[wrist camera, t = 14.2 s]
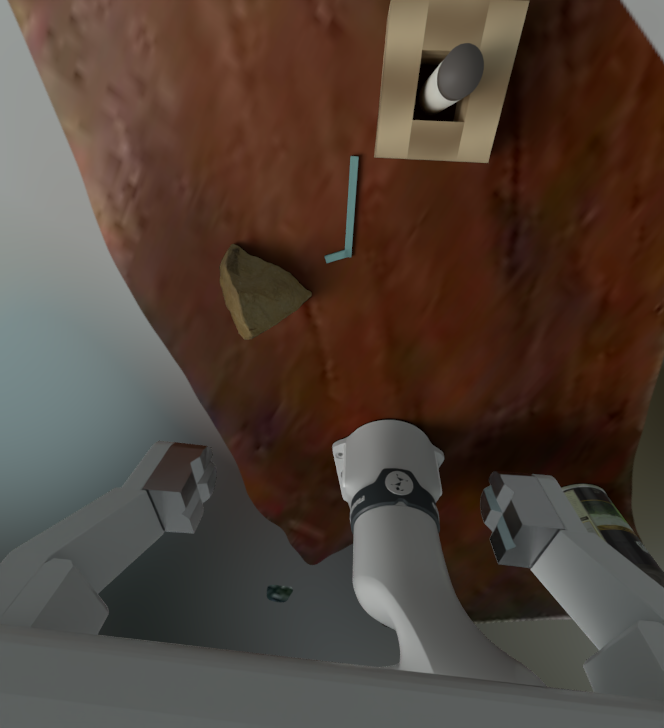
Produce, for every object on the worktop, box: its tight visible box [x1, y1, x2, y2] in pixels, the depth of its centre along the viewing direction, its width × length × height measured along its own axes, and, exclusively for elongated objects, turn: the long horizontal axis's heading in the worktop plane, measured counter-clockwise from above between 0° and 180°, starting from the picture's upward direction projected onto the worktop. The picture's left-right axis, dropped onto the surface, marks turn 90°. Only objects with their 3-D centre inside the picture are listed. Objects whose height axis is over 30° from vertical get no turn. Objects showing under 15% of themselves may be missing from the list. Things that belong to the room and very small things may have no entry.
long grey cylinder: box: [419, 43, 484, 115], centre depth 26 cm, size 3×3×10 cm
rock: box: [219, 244, 312, 340], centre depth 38 cm, size 11×9×10 cm
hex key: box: [325, 156, 359, 263], centre depth 36 cm, size 11×3×1 cm, turn 178°
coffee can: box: [561, 484, 664, 588], centre depth 53 cm, size 10×10×14 cm
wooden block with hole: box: [374, 0, 529, 163], centre depth 28 cm, size 10×10×4 cm
